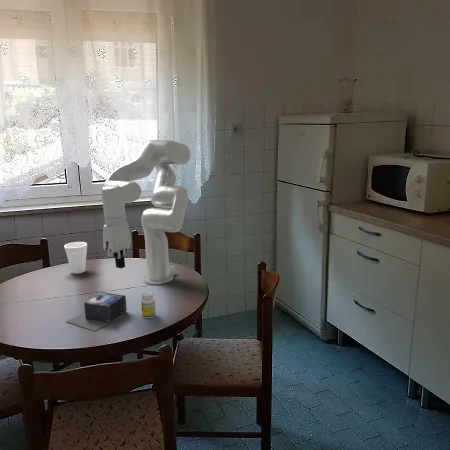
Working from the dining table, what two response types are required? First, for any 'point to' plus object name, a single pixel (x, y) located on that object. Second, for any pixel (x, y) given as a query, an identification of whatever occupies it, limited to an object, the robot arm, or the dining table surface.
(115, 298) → the small box
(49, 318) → the dining table surface
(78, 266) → the cup
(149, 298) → the supplement bottle
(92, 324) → the mat
